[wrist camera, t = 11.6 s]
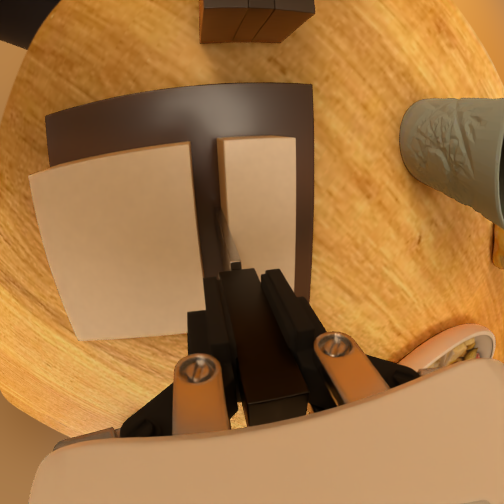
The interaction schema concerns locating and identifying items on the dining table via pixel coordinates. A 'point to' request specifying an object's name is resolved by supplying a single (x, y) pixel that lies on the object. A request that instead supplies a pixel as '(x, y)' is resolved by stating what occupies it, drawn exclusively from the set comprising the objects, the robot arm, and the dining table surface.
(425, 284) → the dining table surface
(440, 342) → the bowl
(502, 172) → the grey green embossed vase
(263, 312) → the knife
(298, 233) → the cake board
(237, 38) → the knife block
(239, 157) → the cake slice
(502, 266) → the chocolate bunny
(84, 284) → the cake
